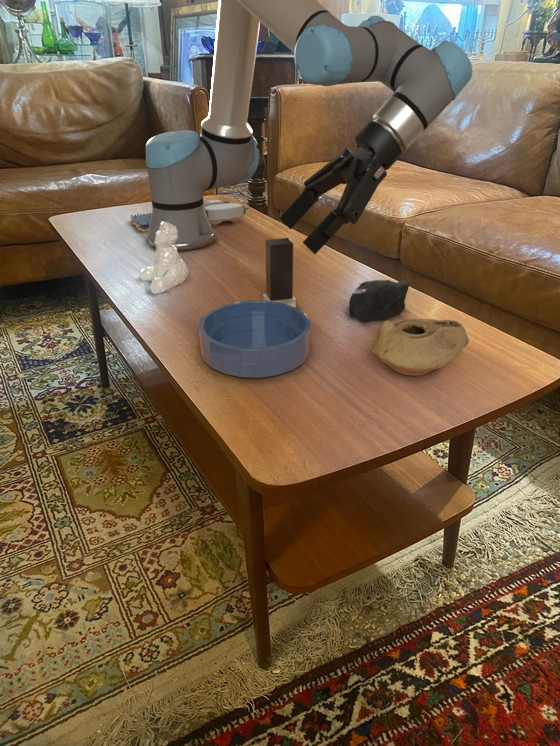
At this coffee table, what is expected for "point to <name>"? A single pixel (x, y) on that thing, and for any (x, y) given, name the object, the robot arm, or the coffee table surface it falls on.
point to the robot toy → (223, 211)
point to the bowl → (254, 338)
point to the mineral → (378, 299)
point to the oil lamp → (418, 344)
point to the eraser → (279, 271)
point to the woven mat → (141, 221)
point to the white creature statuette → (165, 261)
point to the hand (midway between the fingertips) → (295, 235)
